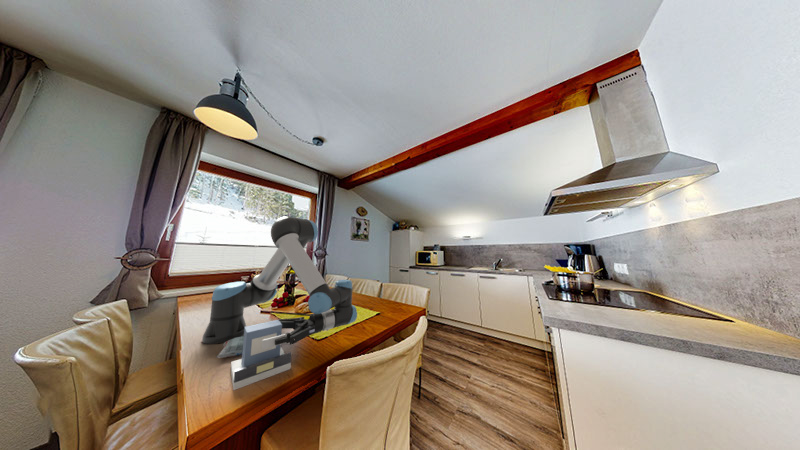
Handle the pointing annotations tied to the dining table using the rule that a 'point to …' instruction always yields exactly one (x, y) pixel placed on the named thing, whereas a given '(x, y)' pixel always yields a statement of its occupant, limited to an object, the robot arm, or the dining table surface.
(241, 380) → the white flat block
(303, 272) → the robot arm
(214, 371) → the dining table surface
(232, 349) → the packaged food
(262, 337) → the carton
